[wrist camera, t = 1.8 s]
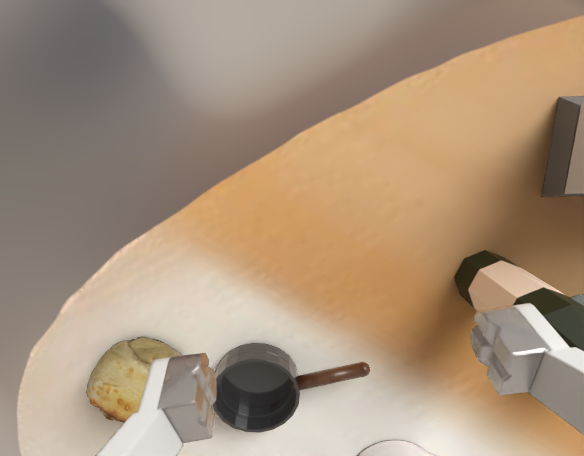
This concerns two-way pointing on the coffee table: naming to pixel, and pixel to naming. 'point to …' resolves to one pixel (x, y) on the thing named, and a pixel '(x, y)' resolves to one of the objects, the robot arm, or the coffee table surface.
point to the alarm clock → (566, 150)
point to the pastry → (124, 376)
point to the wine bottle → (518, 293)
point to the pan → (256, 388)
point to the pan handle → (332, 375)
